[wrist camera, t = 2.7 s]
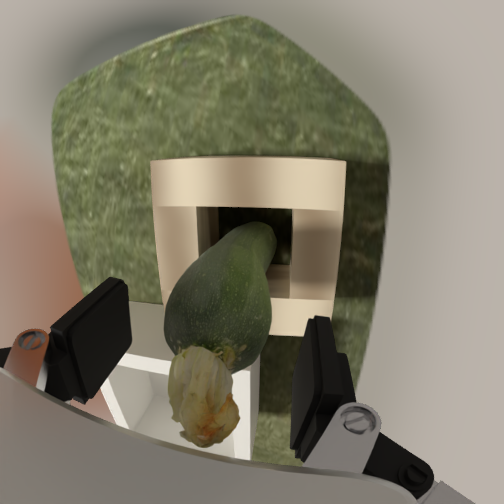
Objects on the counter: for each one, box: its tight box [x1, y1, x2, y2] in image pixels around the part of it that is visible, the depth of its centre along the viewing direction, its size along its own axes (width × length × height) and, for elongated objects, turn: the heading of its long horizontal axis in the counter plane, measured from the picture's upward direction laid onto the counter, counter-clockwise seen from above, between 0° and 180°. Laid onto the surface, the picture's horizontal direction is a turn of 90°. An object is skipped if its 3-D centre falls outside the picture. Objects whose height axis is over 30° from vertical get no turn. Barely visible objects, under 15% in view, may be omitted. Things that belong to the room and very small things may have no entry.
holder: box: [151, 155, 346, 336], centre depth 22 cm, size 12×12×6 cm
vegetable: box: [163, 222, 277, 448], centre depth 15 cm, size 4×4×20 cm
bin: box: [100, 301, 260, 460], centre depth 27 cm, size 14×14×8 cm
